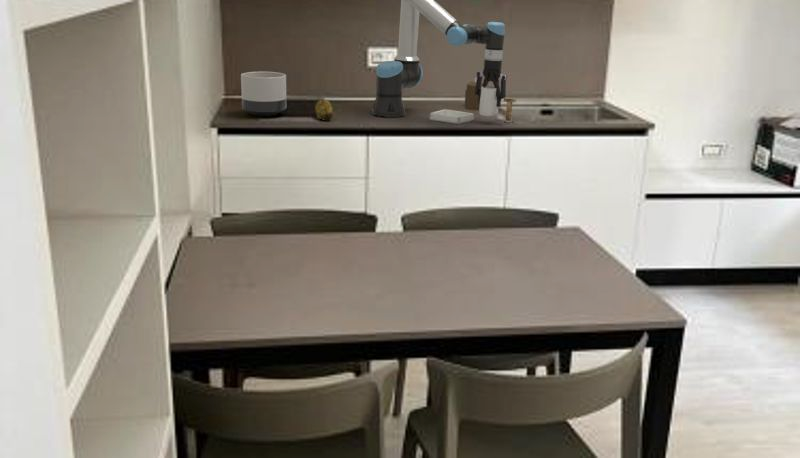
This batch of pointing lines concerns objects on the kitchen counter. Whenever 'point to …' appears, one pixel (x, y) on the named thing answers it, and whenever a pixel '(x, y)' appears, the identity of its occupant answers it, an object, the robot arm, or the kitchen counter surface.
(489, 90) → the mug
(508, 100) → the post
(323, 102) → the potato
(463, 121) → the tray
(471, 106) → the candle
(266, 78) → the planter
